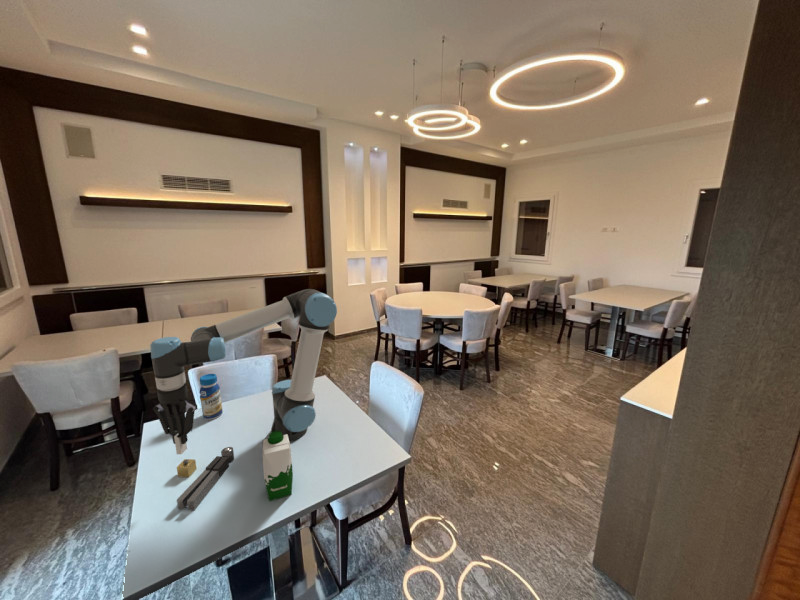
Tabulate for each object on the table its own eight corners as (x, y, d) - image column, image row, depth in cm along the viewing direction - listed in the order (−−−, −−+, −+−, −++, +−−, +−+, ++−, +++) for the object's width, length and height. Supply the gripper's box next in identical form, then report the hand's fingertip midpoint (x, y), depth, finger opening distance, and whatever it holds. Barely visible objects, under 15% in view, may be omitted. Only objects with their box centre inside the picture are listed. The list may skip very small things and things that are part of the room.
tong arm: (218, 465, 117) (216, 456, 116) (223, 465, 116) (221, 456, 116) (178, 509, 98) (176, 498, 97) (184, 509, 98) (182, 498, 97)
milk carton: (292, 477, 112) (288, 427, 107) (294, 496, 103) (290, 443, 99) (265, 484, 108) (260, 433, 104) (266, 505, 100) (260, 450, 96)
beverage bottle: (218, 408, 154) (213, 371, 150) (226, 414, 149) (221, 375, 145) (199, 416, 148) (194, 377, 143) (207, 422, 143) (202, 382, 139)
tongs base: (226, 456, 121) (224, 445, 120) (236, 456, 121) (235, 445, 120) (181, 509, 98) (179, 496, 97) (194, 510, 98) (192, 497, 97)
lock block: (196, 468, 115) (194, 457, 114) (189, 477, 111) (187, 465, 110) (186, 468, 115) (184, 457, 114) (178, 476, 111) (176, 465, 110)
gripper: (141, 391, 95) (153, 459, 100) (183, 392, 94) (193, 460, 99) (160, 380, 102) (171, 443, 107) (199, 380, 102) (208, 444, 107)
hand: (182, 451), depth 103 cm, fingers closed
